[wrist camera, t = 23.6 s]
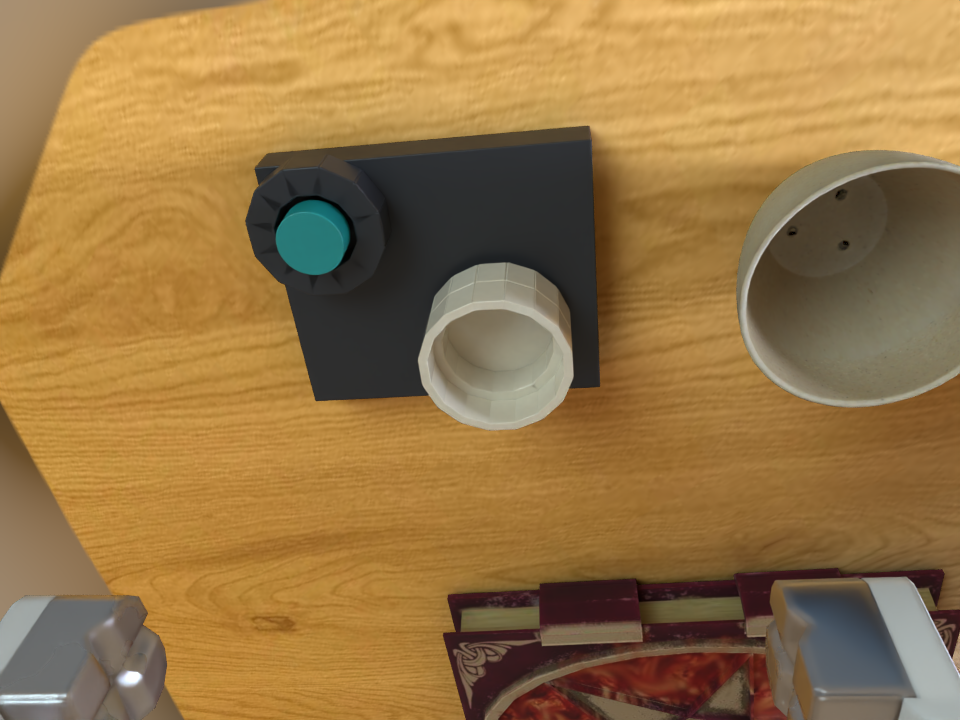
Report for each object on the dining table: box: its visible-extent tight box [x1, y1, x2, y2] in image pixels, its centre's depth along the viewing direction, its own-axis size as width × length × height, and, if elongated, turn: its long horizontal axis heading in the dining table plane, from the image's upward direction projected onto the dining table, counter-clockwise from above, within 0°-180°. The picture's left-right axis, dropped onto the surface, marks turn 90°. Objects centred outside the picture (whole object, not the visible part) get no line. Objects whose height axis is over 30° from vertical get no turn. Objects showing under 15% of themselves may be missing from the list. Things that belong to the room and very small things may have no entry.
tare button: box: [276, 200, 350, 275], centre depth 33 cm, size 3×3×1 cm
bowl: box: [418, 262, 574, 430], centre depth 35 cm, size 6×6×4 cm
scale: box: [245, 126, 600, 401], centre depth 36 cm, size 14×12×4 cm
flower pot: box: [736, 150, 960, 407], centre depth 32 cm, size 10×10×7 cm
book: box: [443, 568, 960, 720], centre depth 51 cm, size 28×21×5 cm
